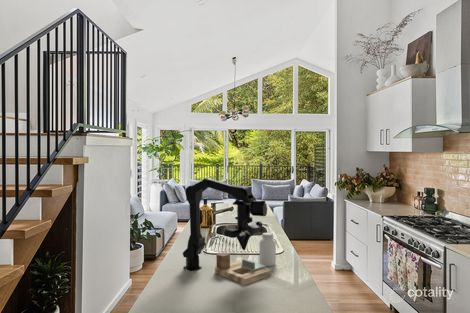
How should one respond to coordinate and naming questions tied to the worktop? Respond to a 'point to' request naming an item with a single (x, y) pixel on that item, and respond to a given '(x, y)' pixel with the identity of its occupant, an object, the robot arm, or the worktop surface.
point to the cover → (251, 265)
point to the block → (223, 260)
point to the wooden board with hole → (249, 274)
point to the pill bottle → (267, 250)
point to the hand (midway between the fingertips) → (243, 249)
